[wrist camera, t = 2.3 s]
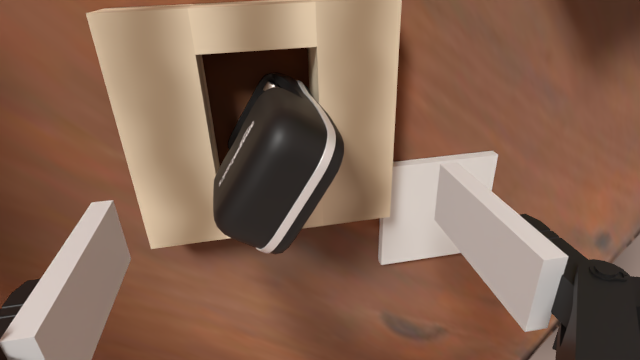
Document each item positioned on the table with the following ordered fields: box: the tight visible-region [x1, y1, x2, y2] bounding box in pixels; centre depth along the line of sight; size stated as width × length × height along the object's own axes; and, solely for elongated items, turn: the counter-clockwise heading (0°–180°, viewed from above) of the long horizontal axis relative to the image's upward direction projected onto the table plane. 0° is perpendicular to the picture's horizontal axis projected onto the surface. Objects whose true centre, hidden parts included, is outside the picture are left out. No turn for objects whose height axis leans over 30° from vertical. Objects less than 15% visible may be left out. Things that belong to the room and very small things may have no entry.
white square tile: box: [378, 151, 498, 265], centre depth 33 cm, size 9×9×1 cm
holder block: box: [86, 0, 402, 249], centre depth 25 cm, size 16×14×4 cm
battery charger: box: [213, 72, 344, 254], centre depth 22 cm, size 7×4×11 cm, turn 149°
